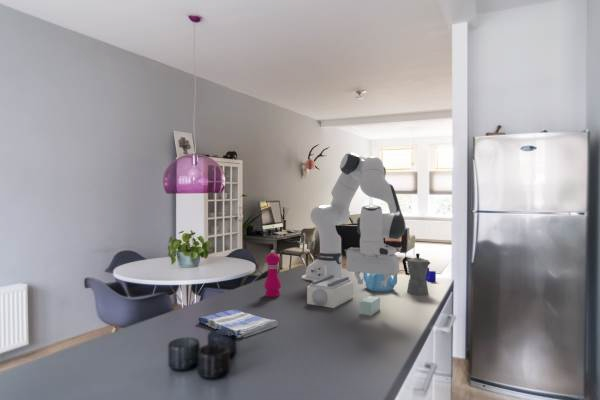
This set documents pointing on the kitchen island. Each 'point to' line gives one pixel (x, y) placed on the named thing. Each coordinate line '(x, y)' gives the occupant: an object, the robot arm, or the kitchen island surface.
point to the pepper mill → (272, 275)
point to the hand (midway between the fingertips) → (371, 285)
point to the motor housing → (330, 291)
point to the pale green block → (369, 305)
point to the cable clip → (431, 276)
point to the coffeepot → (416, 275)
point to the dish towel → (238, 322)
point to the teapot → (379, 282)
